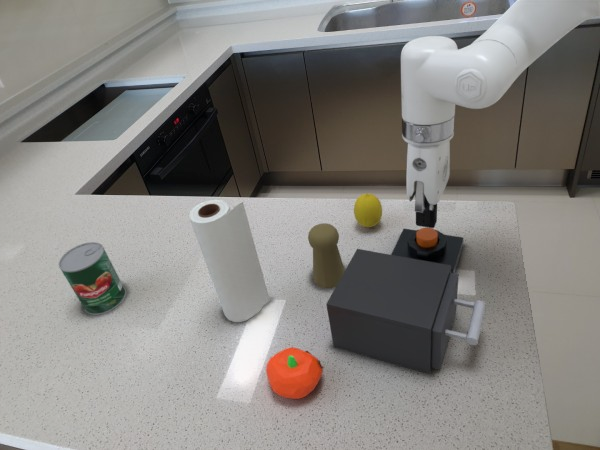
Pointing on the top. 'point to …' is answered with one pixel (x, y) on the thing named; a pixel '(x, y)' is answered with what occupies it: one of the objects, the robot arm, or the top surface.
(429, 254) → the control block
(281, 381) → the pumpkin
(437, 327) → the basket drawer
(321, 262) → the pepper mill
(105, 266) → the canned tomato
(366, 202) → the lemon
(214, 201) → the paper towel roll
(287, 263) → the top surface
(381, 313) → the dark grey drawer cabinet
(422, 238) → the button
